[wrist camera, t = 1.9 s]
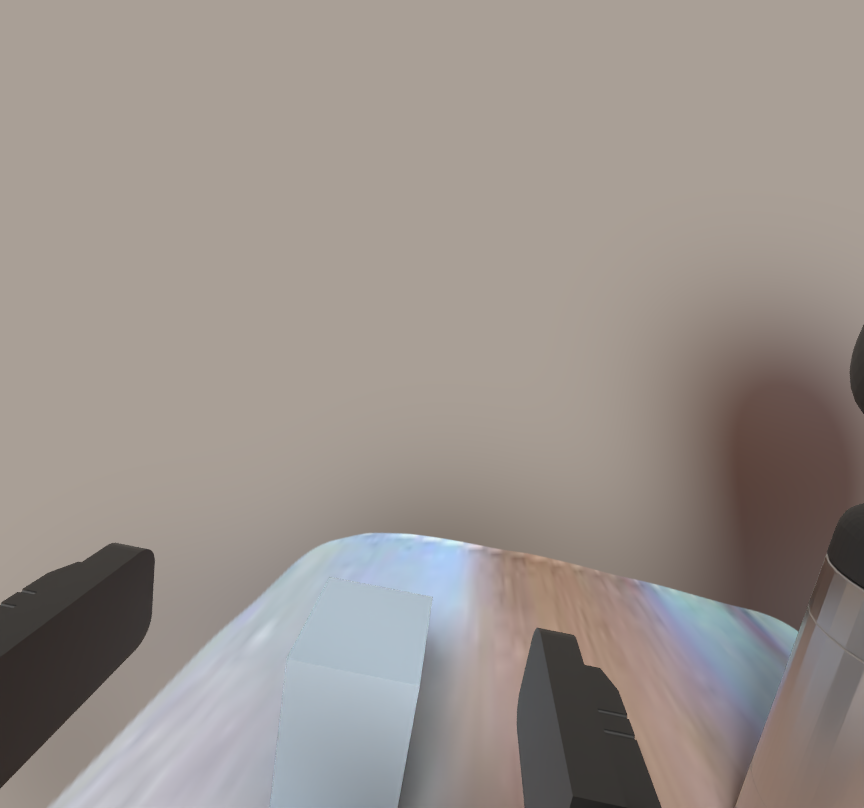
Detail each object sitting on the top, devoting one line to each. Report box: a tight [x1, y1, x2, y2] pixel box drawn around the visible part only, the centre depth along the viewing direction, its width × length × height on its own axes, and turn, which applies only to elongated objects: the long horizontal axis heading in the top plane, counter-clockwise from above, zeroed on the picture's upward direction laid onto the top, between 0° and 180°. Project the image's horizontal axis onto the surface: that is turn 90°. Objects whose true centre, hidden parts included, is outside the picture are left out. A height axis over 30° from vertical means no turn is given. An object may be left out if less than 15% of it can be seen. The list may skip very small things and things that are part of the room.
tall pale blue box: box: [270, 577, 433, 808], centre depth 28 cm, size 7×6×10 cm
